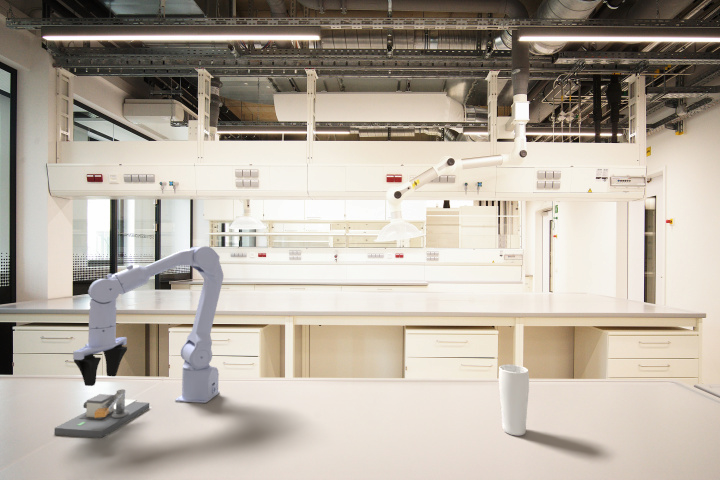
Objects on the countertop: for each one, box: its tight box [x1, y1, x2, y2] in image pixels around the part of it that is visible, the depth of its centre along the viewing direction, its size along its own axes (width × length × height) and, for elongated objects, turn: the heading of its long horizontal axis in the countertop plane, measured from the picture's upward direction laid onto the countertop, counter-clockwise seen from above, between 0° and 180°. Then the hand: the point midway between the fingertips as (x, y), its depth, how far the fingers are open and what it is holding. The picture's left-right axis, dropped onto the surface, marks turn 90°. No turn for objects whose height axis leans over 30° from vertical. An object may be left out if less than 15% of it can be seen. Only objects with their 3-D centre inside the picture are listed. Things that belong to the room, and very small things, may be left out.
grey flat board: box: [53, 398, 150, 439], centre depth 94 cm, size 12×17×2 cm
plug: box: [82, 393, 115, 418], centre depth 94 cm, size 6×4×4 cm, turn 83°
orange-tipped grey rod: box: [95, 389, 126, 418], centre depth 87 cm, size 14×2×5 cm, turn 15°
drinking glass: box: [498, 364, 530, 437], centre depth 89 cm, size 7×7×15 cm
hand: (101, 380), depth 94 cm, fingers open, 6 cm apart
